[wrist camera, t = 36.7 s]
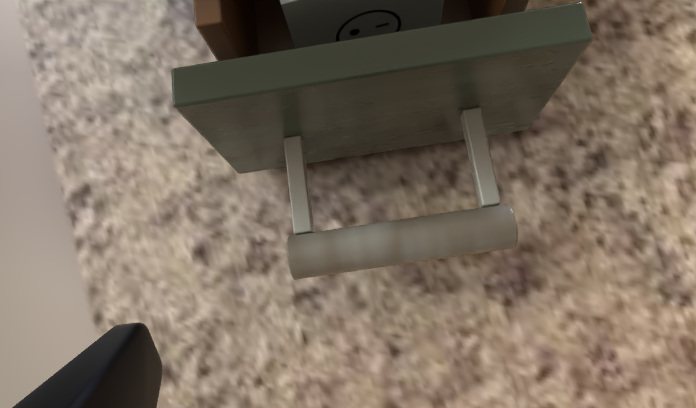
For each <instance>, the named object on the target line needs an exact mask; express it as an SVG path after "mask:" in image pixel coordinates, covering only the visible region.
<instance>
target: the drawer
mask: <svg viewBox="0 0 696 408" xmlns="http://www.w3.org/2000/svg"><path fill="white" fill-rule="evenodd" d="M528 2H529V0H444V3H443V9H442V14H441V20H440V25H436V26H430V27H424V28H418V29H412V30H406V31H399V32H393V33H387V34H381V35H375V36H369V37H363V38H357V39H350V40H344V41H338V42H332V43H326V44H320V45H314V46H308V47H301V48H295V46H294V43H293V40H292V37H291V34H290V31H289V28H288V25H287V22H286V18H285V15H284V12H283V9H282V6H281V3H280V0H194V12H195V26H196V28H197V29H198V31H199V32H200V34H201V35H202V37H203V39H204V40H205V42H206V43H207V45H208V46H209V48H210V49H211V51H212V53H213V54H214V56H215V57H216V59H217V60H218V61H216V62H210V63H203V64H197V65H191V66H185V67H179V68H174V69H172V71H171V72H172V91H173V106H174V107H175V108H176V109H177V111H178V112H179V113H180V114H181V115H182V116H183V117H184V118H185V119H186V120H187V121H188V122H189V123H190V124H191V125H192V126H193V127H194V128H195V129H196V130H197V131H198V132H199V133H200V134H201V135H202V136H203V137H204V138H205V139H206V140H207V141H208V142H209V143H210V144H211V145H212V146H213V147H214V148H215V149H216V150H217V151H218V152H219V153H220V154H221V155H222V157H223V158H224V159H225V160H226V161H227V162H228V163H229V164H230V165H231V166H232V167H233V168H234V169H235V170H236V171H237V172H238V173H240V174H242V173H248V172H255V171H261V170H268V169H274V168H281V167H287V176H288V185H289V194H290V203H291V212H292V221H293V230H294V234H295V235H292V236H289V237H288V239H287V255H288V262H289V267H290V271H291V274H292V277H293V278H294V279H302V278H309V277H316V276H323V275H330V274H337V273H344V272H351V271H357V270H364V269H371V268H378V267H385V266H392V265H399V264H406V263H413V262H420V261H427V260H434V259H441V258H448V257H455V256H462V255H469V254H476V253H483V252H490V251H497V250H504V249H511V248H514V247H516V245H517V239H518V232H517V224H516V220H515V216H514V213H513V211H512V209H511V207H510V206H509V205H508V204H502V205H499V204H500V203H501V200H500V195H499V191H498V186H497V182H496V177H495V172H494V168H493V163H492V159H491V154H490V149H489V145H488V140H487V136H489V135H496V134H502V133H509V132H515V131H522V130H527V129H528V128H529V127H530V126H531V124H532V123H533V122H534V120H535V119H536V117H537V116H538V115H539V113H540V112H541V110H542V109H543V108H544V106H545V105H546V104H547V102H548V101H549V99H550V98H551V97H552V95H553V94H554V93H555V91H556V90H557V88H558V87H559V86H560V84H561V83H562V81H563V80H564V79H565V77H566V76H567V75H568V73H569V72H570V70H571V69H572V68H573V66H574V65H575V64H576V62H577V61H578V59H579V58H580V57H581V55H582V54H583V53H584V51H585V50H586V48H587V47H588V46H589V44H590V43H591V41H592V39H593V36H592V33H591V29H590V26H589V23H588V19H587V16H586V12H585V9H584V5H583V3H582V2H577V3H571V4H565V5H559V6H553V7H546V8H540V9H534V10H528V11H525V9H526V6H527V4H528ZM463 139H465V141H466V146H467V151H468V156H469V161H470V166H471V171H472V176H473V180H474V185H475V190H476V195H477V200H478V205H479V208H475V209H468V210H461V211H455V212H448V213H441V214H434V215H428V216H421V217H414V218H407V219H400V220H394V221H387V222H380V223H373V224H366V225H360V226H353V227H346V228H339V229H333V230H326V231H319V232H314V225H313V217H312V209H311V200H310V192H309V184H308V175H307V167H306V164H307V163H313V162H320V161H326V160H333V159H339V158H346V157H352V156H359V155H365V154H372V153H379V152H385V151H392V150H398V149H405V148H411V147H418V146H424V145H431V144H437V143H444V142H450V141H457V140H463Z"/></svg>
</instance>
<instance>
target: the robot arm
mask: <svg viewBox="0 0 696 408" xmlns="http://www.w3.org/2000/svg"><path fill="white" fill-rule="evenodd" d="M161 379H162V362H161V359H160V356H159V354H158V352H157V349H156V347H155V344H154V342H153V340H152V337H151V335H150V332H149V330H148V328H147V327H146V326H145V325H144V324H143V323H130V324H122V325H117V326H115V327H113V328H112V329H110V330H109V331H108V332H107V333H105V334H104V335H103V336H102V337H100V338H99V339H98V340H97V341H95V342H94V343H93V344H92V345H90V346H89V347H88V348H87V349H85V350H84V351H83V352H82V353H80V354H79V355H78V356H77V357H76V358H74V359H73V360H72V361H70V362H69V363H68V364H67V365H65V366H64V367H63V368H62V369H60V370H59V371H58V372H56V373H55V374H54V375H53V376H51V377H50V378H49V379H48V380H46V381H45V382H44V383H43V384H42V385H40V386H39V387H38V388H37V389H35V390H34V391H33V392H31V393H30V394H29V395H28V396H26V397H25V398H24V399H23V400H21V401H20V402H19V403H18V404H16V405H15V406H14V407H13V408H156V407H157V401H158V396H159V390H160V385H161Z"/></svg>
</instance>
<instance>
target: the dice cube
mask: <svg viewBox="0 0 696 408" xmlns="http://www.w3.org/2000/svg"><path fill="white" fill-rule="evenodd" d="M280 3H281V6H282V9H283V12H284V15H285V18H286V22H287V25H288V28H289V31H290V34H291V37H292V40H293V43H294V46H295V48H301V47H308V46H314V45H320V44H326V43H332V42H338V41H344V40H350V39H357V38H363V37H369V36H375V35H381V34H387V33H393V32H399V31H406V30H412V29H418V28H424V27H430V26H436V25H440V20H441V14H442V9H443V3H444V0H280Z"/></svg>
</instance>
